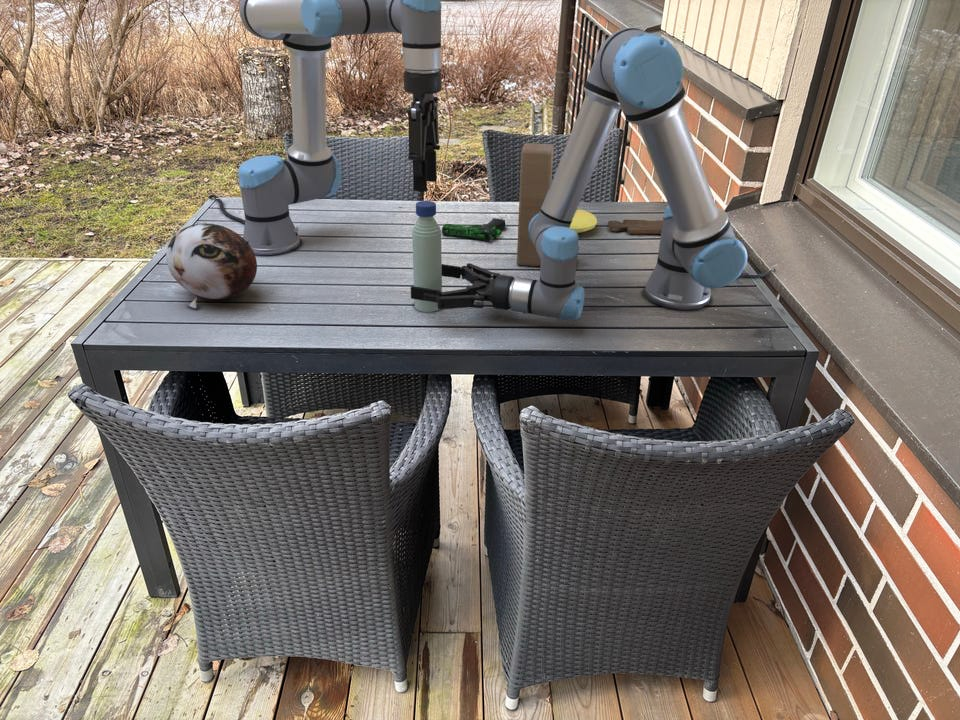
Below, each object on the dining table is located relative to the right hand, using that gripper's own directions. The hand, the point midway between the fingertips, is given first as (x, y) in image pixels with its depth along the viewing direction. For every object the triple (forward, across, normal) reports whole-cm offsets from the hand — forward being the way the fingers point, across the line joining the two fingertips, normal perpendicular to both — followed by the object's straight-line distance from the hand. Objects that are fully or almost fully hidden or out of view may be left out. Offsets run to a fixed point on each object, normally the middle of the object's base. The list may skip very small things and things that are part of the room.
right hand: (422, 280), depth 163 cm
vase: (-21, +62, -7) cm, 66 cm away
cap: (-1, +1, +18) cm, 18 cm away
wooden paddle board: (-45, +70, -7) cm, 83 cm away
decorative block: (-21, +35, -7) cm, 41 cm away
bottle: (-1, +1, -7) cm, 7 cm away
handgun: (+4, +50, -7) cm, 50 cm away
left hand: (-1, +1, +22) cm, 22 cm away
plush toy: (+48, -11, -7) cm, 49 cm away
